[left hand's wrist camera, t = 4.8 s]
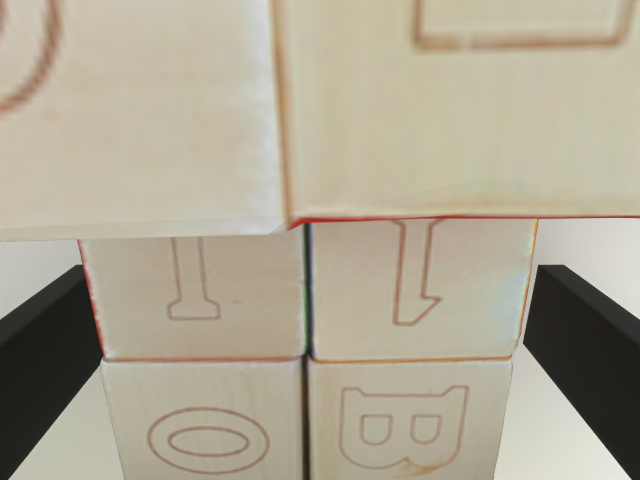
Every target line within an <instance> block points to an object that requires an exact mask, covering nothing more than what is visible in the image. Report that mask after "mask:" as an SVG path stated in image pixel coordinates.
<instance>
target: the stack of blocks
mask: <svg viewBox="0 0 640 480" xmlns="http://www.w3.org/2000/svg"><path fill="white" fill-rule="evenodd" d="M559 218H640V0H0V241H35V240H75V239H77V241H78V245H79V250H80V254H81V259H82V263H83V268H84V272H85V277H86V281H87V286H88V290H89V295H90V299H91V304H92V309H93V313H94V318H95V323H96V327H97V332H98V336H99V341H100V345H101V348H102V351H103V354H104V356H103V358H102V360H101V363H100V371H101V375H102V380H103V385H104V389H105V394H106V398H107V403H108V407H109V412H110V416H111V421H112V425H113V430H114V435H115V439H116V444H117V448H118V452H119V457H120V461H121V466H122V470H123V474H124V479H125V480H493V479H494V472H495V467H496V462H497V456H498V451H499V446H500V441H501V434H502V428H503V422H504V415H505V409H506V403H507V398H508V393H509V388H510V383H511V377H512V369H513V365H512V354H513V352H514V351H515V349H516V347H517V344H518V341H519V338H520V335H521V327H522V320H523V315H524V310H525V304H526V298H527V293H528V287H529V281H530V274H531V266H532V259H533V252H534V245H535V239H536V232H537V226H538V219H559Z"/></svg>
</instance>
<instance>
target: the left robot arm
mask: <svg viewBox="0 0 640 480" xmlns="http://www.w3.org/2000/svg"><path fill="white" fill-rule="evenodd" d="M523 344H524V345H525V346H526V348H527V349H528V350H529V351H530V353H531V354H532V355H533V356H534V358H535V359H536V360H537V362H538V363H539V364H540V365H541V367H542V368H543V369H544V370H545V372H546V373H547V374H548V375H549V377H550V378H551V379H552V380H553V382H554V383H555V384H556V385H557V387H558V388H559V389H560V390H561V392H562V393H563V394H564V395H565V397H566V398H567V399H568V400H569V402H570V403H571V404H572V405H573V407H574V408H575V409H576V410H577V412H578V413H579V414H580V415H581V417H582V418H583V419H584V420H585V422H586V423H587V424H588V425H589V427H590V428H591V429H592V431H593V432H594V433H595V434H596V436H597V437H598V438H599V439H600V441H601V442H602V443H603V444H604V446H605V447H606V448H607V449H608V451H609V452H610V453H611V454H612V456H613V457H614V458H615V459H616V461H617V462H618V463H619V464H620V466H621V467H622V468H623V469H624V471H625V472H626V473H627V474H628V476H629V477H630V478H631V479H632V480H640V320H639V319H638V318H637V317H635V316H634V315H632V314H631V313H630V312H628V311H627V310H626V309H624V308H623V307H621V306H620V305H619V304H617V303H616V302H614V301H613V300H612V299H610V298H609V297H608V296H606V295H605V294H603V293H602V292H601V291H599V290H598V289H596V288H595V287H594V286H592V285H591V284H590V283H588V282H587V281H585V280H584V279H583V278H581V277H580V276H579V275H577V274H576V273H574V272H573V271H572V270H570V269H569V268H567V267H566V266H565V265H538V269H537V274H536V279H535V284H534V289H533V294H532V299H531V304H530V310H529V315H528V320H527V325H526V330H525V335H524V340H523ZM103 356H104V354H103V351H102V348H101V345H100V341H99V336H98V332H97V327H96V323H95V318H94V313H93V309H92V304H91V299H90V295H89V290H88V286H87V281H86V277H85V272H84V268H83V265H75V266H74V267H73V268H71V269H70V270H68V271H67V272H66V273H64V274H63V275H61V276H60V277H59V278H57V279H56V280H55V281H53V282H52V283H50V284H49V285H48V286H46V287H45V288H44V289H42V290H41V291H39V292H38V293H37V294H35V295H34V296H32V297H31V298H30V299H28V300H27V301H26V302H24V303H23V304H21V305H20V306H19V307H17V308H16V309H14V310H13V311H12V312H10V313H9V314H8V315H6V316H5V317H3V318H2V319H1V320H0V480H8V479H9V478H10V477H11V476H12V474H13V473H14V472H15V471H16V469H17V468H18V467H19V466H20V464H21V463H22V462H23V461H24V459H25V458H26V457H27V456H28V454H29V453H30V452H31V451H32V449H33V448H34V447H35V446H36V444H37V443H38V442H39V441H40V439H41V438H42V437H43V436H44V434H45V433H46V432H47V430H48V429H49V428H50V427H51V425H52V424H53V423H54V422H55V420H56V419H57V418H58V417H59V415H60V414H61V413H62V412H63V410H64V409H65V408H66V407H67V405H68V404H69V403H70V402H71V400H72V399H73V398H74V397H75V395H76V394H77V393H78V392H79V390H80V389H81V388H82V387H83V385H84V384H85V383H86V382H87V380H88V379H89V378H90V377H91V375H92V374H93V373H94V372H95V370H96V369H97V368H98V367H99V365H100V363H101V360H102V358H103Z"/></svg>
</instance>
